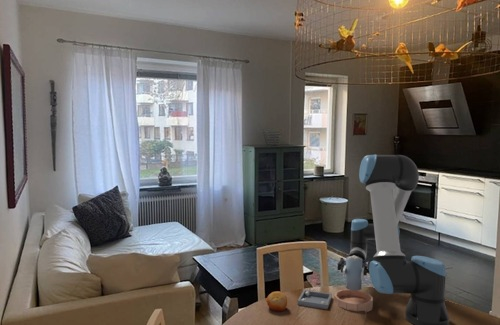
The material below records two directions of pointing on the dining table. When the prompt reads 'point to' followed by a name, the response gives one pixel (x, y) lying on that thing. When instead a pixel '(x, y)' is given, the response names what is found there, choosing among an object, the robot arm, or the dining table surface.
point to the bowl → (353, 300)
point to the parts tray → (315, 299)
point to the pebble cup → (353, 273)
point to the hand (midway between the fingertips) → (352, 274)
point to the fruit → (277, 301)
